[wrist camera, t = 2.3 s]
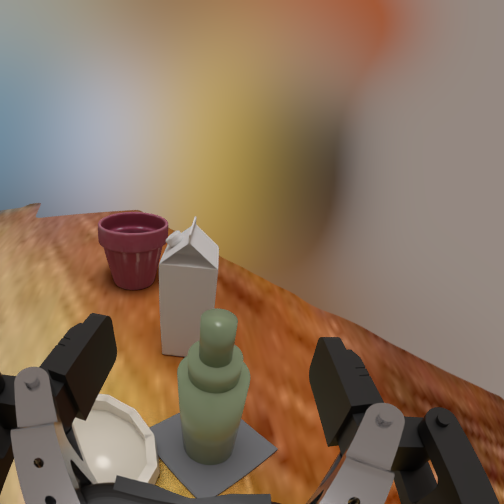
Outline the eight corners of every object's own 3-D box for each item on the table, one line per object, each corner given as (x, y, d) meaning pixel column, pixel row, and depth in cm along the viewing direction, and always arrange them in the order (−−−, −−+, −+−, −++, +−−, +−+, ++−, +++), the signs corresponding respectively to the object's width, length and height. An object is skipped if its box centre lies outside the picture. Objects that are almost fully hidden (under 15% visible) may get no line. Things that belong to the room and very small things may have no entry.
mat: (202, 504, 18) (202, 503, 17) (140, 433, 24) (140, 431, 24) (277, 450, 25) (277, 448, 25) (213, 395, 32) (213, 393, 32)
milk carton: (210, 329, 44) (221, 218, 37) (210, 360, 38) (221, 237, 31) (168, 325, 43) (170, 214, 36) (162, 355, 37) (158, 231, 30)
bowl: (74, 527, 10) (62, 522, 9) (27, 424, 19) (16, 410, 17) (186, 479, 20) (185, 471, 19) (119, 392, 29) (115, 378, 28)
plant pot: (162, 262, 63) (163, 210, 59) (172, 294, 52) (174, 232, 47) (103, 265, 57) (100, 212, 52) (101, 299, 46) (94, 235, 41)
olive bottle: (205, 473, 21) (213, 362, 14) (173, 438, 24) (159, 310, 17) (244, 447, 25) (279, 325, 18) (211, 417, 28) (223, 288, 21)
